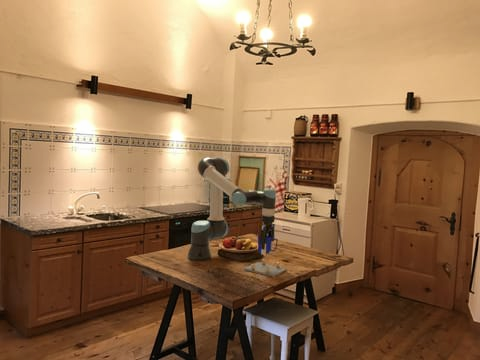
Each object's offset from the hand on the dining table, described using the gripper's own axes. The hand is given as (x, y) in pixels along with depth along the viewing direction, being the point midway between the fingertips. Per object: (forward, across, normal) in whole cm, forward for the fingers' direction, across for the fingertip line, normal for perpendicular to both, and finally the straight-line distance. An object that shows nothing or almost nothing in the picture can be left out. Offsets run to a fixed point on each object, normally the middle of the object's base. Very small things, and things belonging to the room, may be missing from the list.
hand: (266, 253), depth 240 cm
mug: (0, +1, 0) cm, 1 cm away
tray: (+11, 0, 0) cm, 11 cm away
